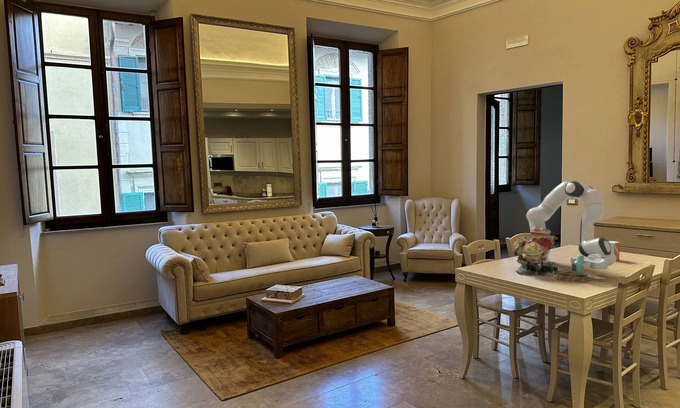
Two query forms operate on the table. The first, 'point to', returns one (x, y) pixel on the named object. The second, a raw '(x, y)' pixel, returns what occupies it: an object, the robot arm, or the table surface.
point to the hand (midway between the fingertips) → (579, 263)
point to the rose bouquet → (535, 252)
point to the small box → (615, 248)
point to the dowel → (579, 264)
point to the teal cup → (569, 270)
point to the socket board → (572, 277)
